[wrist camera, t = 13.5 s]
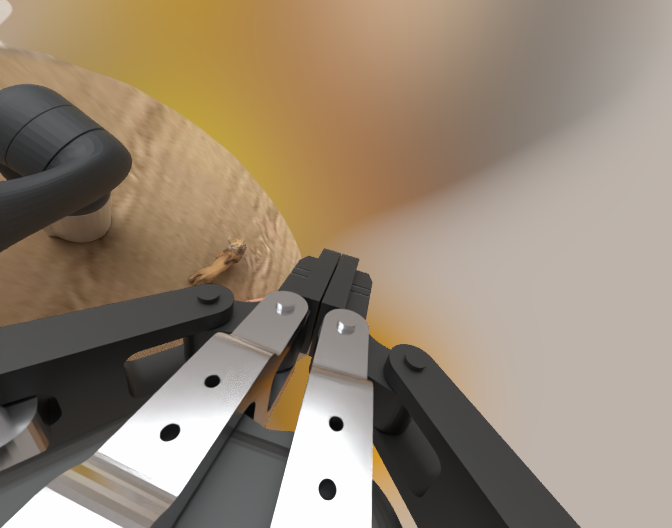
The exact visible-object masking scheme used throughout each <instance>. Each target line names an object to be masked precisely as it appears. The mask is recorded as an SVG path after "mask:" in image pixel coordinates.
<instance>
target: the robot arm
mask: <svg viewBox="0 0 672 528" xmlns="http://www.w3.org/2000/svg"><path fill="white" fill-rule="evenodd" d="M131 166H132V158H131V155H130V153H129V151H128V150H127V149H126V148H125V146H124V145H123V144H122V143H121V142H120V141H119V140H118V139H116V138H115V137H114V136H113V135H112V134H110V133H109V132H108V131H106V130H105V129H104V128H103V127H101V126H100V125H99V124H98V123H96V122H95V121H94V120H92V119H91V118H90V117H89V116H87V115H86V114H85V113H83V112H82V111H81V110H79V109H78V108H77V107H76V106H74V105H73V104H72V103H70V102H69V101H68V100H67V99H65V98H64V97H63V96H61V95H60V94H58V93H57V92H55V91H53V90H51V89H49V88H47V87H43V86H39V85H33V84H21V85H14V86H10V87H7V88H4V89H2V90H0V173H1V174H2V175H3V176H4V177H5V178H6V179H7V181H0V252H2V251H3V250H5V249H7V248H8V247H10V246H12V245H13V244H15V243H17V242H19V241H20V240H22V239H24V238H26V237H27V236H29V235H31V234H33V233H35V232H37V231H39V230H41V229H44V231H45V232H46V233H47V235H48V236H57V237H60V238H62V239H65V240H68V241H72V242H79V243H82V242H90V241H94V240H97V239H99V238H101V237H102V236H104V235H105V234H106V233H107V231H108V230H109V228H110V225H111V191H112V190H113V189H114V188H116V187H117V186H118V185H119V184H120V183H121V182H122V181H123V180H124V179H125V178H126V176H127V175H128V173H129V171H130V169H131ZM340 258H341V259H340ZM358 262H359V259H358V258H355V257H352V256H348V255H345V254H342V256H341V253H338V252H335V251H332V250H328V249H324V250H323V251H322V253H321V255H320V256H319V258H314V257H311V256H307V257H305V258H303V259H301V260H300V261H299V262H298V263H297V265H296V266H295V268H294V269H293V270H292V272H291V273H290V275H289V276H288V277H287V279H286V280H285V282H284V283H283V284H282V286H281V287H280V289H279V290H278V291H276V292H273V293H270V294H268V295H267V296H266V297H265V298H264V299H263V300H262V301H260V302H244V301H234V295H233V293H232V292H231V291H230V290H229V289H228V288H226V287H224V286H221V285H216V284H204V285H198V286H193V287H189V288H184V289H179V290H174V291H170V292H165V293H160V294H156V295H151V296H146V297H141V298H137V299H132V300H127V301H122V302H118V303H113V304H108V305H104V306H99V307H94V308H89V309H85V310H80V311H75V312H71V313H66V314H61V315H56V316H52V317H47V318H42V319H37V320H33V321H28V322H23V323H19V324H14V325H9V326H4V327H0V528H402V526H401V524H400V521H399V519H398V517H397V515H396V513H395V511H394V509H393V507H392V506H391V504H390V502H389V501H388V499H387V497H386V496H385V494H384V493H383V491H382V490H381V489H380V487H379V486H378V485H377V484H376V483H375V481H373V479H372V445H373V444H374V446H375V448H376V450H377V451H378V453H379V455H380V457H381V459H382V461H383V463H384V465H385V467H386V468H387V470H388V472H389V474H390V476H391V478H392V480H393V482H394V483H395V485H396V487H397V489H398V491H399V493H400V495H401V497H402V499H403V500H404V502H405V504H406V506H407V508H408V510H409V512H410V514H411V515H412V517H413V519H414V521H415V523H416V525H417V527H418V528H580V526H579V525H578V524H577V523H576V522H575V521H574V520H573V518H572V517H571V516H570V515H569V514H568V513H567V511H565V509H564V508H563V507H562V506H561V505H560V503H559V502H558V501H557V500H556V499H555V498H554V497H553V495H552V494H551V493H550V492H549V491H548V490H547V489H546V488H545V486H544V485H543V484H542V483H541V482H540V481H539V480H538V479H537V477H536V476H535V475H534V474H533V473H532V472H531V470H530V469H529V468H528V467H527V466H526V465H525V464H524V462H523V461H522V460H521V459H520V458H519V457H518V456H517V455H516V453H515V452H514V451H513V450H512V449H511V448H510V447H509V445H508V444H507V443H506V442H505V441H504V440H503V439H502V437H501V436H500V435H499V434H498V433H497V432H496V431H495V429H494V428H493V427H492V426H491V425H490V424H489V423H488V422H487V420H486V419H485V418H484V417H483V416H482V415H481V413H480V412H479V411H478V410H477V409H476V408H475V407H474V406H473V404H472V403H471V402H470V401H469V400H468V399H467V398H466V396H465V395H464V394H463V393H462V392H461V391H460V390H459V388H458V387H457V386H456V385H455V384H454V383H453V382H452V380H451V379H450V378H449V377H448V376H447V375H446V374H445V372H444V371H443V370H442V369H441V368H440V367H439V366H438V364H437V363H436V362H435V361H434V360H433V359H432V358H431V357H430V356H429V355H428V354H427V353H426V352H424V351H423V350H421V349H420V348H417V347H415V346H412V345H407V344H400V345H396V346H395V347H393V348H392V349H391V350H390V349H388V348H386V347H385V346H383V345H381V344H380V343H378V342H377V341H376V340H375V339H373V338H372V337H371V335H370V334H369V326H368V324H367V322H366V316H367V310H368V304H369V299H370V293H371V287H372V280H371V278H370V276H369V274H367V273H363V272H360V271H357V270H356V268H357V265H358ZM180 338H183V342H184V344H183V345H180V346H177V347H174V348H171V349H168V350H165V351H162V352H159V353H156V354H153V355H150V356H147V357H144V358H140V359H137V360H134V361H126V360H127V359H128V358H129V357H130V356H131V355H133V354H135V353H137V352H139V351H142V350H145V349H148V348H152V347H155V346H158V345H161V344H164V343H168V342H171V341H174V340H177V339H180ZM311 342H312V343H311ZM310 345H311V347H310ZM309 347H310V351H309V356H311V357H312V359H311V363H310V366H309V378H308V382H307V386H306V390H305V393H304V397H303V401H302V405H301V409H300V413H299V417H298V420H297V424H296V428H295V432H290V431H275V430H268V429H266V428H265V427H266V424H267V422H268V420H269V418H270V416H271V414H272V412H273V410H274V408H275V406H276V405H277V403H278V401H279V399H280V397H281V395H282V393H283V391H284V389H285V388H286V386H287V384H288V382H289V380H290V378H291V376H292V374H293V372H294V369H295V365H296V360H297V358H298V355H299V353H303V354H306V355H307V352H308V350H309Z"/></svg>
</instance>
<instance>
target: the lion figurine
mask: <svg viewBox="0 0 672 528" xmlns="http://www.w3.org/2000/svg"><path fill="white" fill-rule="evenodd" d="M228 240H229V243H230V245H228V246H227V248H226V249H225V250H224V251H223V252H222V253H221V254H217V255H216V258H217V259H216V260H215V262H214V263H213V264H212V265H211V266H210V267H205V268H203V269H201V270H199V271H198V272H196V273H195V274H194V275H193V276H190V277H189V278H188V280H189V281H190V282H192V281H193V280H194V279H195V278H196V277H198V276H201V277H200V278H198V279H197V280H196V281H195V282H194V283H193V285H192V287H193V286H195V285H196V283H197V282H199V281H201V280H203V279H204V280H205V281H204V282H205V283H211V282H212V281H213V279H215V277H216V276H217V275H218V274H219V273H221V272H223V271H224V270H226V269H228V268H229V267H230V266H231V265H232V264H234V263H237V262H238V261H239V260H240V259H241V258H242V255H244V252H245V250H246V244H245V242H244V239H243V240H239V239H235V238H234V237H233V236H229V238H228Z"/></svg>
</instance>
